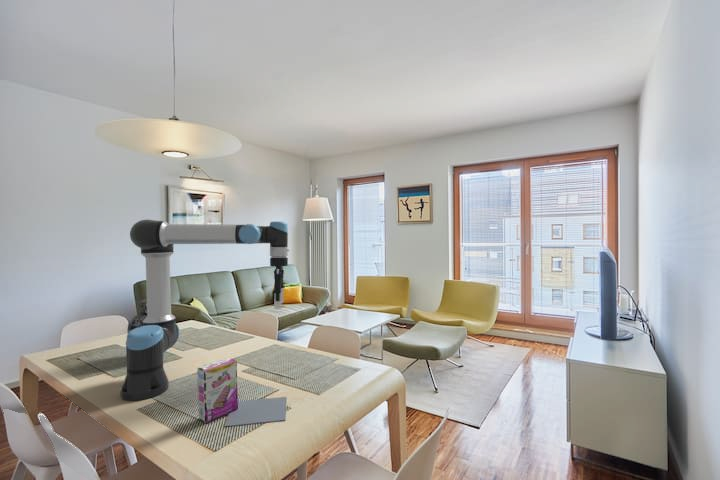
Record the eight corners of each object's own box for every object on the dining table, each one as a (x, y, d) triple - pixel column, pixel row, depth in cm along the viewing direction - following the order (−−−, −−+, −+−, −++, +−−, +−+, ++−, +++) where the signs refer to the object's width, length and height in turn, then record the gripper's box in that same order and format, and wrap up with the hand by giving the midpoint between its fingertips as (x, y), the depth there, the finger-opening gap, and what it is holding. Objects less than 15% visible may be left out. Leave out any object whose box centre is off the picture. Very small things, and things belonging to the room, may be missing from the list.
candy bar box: (206, 424, 104) (203, 370, 104) (198, 419, 108) (196, 367, 107) (239, 409, 113) (237, 359, 113) (231, 405, 116) (229, 356, 116)
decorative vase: (169, 361, 160) (168, 301, 160) (122, 367, 153) (121, 305, 153) (175, 348, 180) (174, 295, 180) (134, 353, 173) (132, 298, 173)
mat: (224, 427, 103) (224, 426, 103) (233, 402, 119) (233, 401, 119) (285, 420, 106) (285, 419, 106) (286, 397, 122) (286, 396, 122)
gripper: (286, 258, 138) (286, 311, 138) (288, 255, 162) (289, 300, 162) (267, 258, 137) (267, 311, 136) (272, 255, 161) (272, 300, 161)
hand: (279, 305), depth 149 cm, fingers open, 13 cm apart
